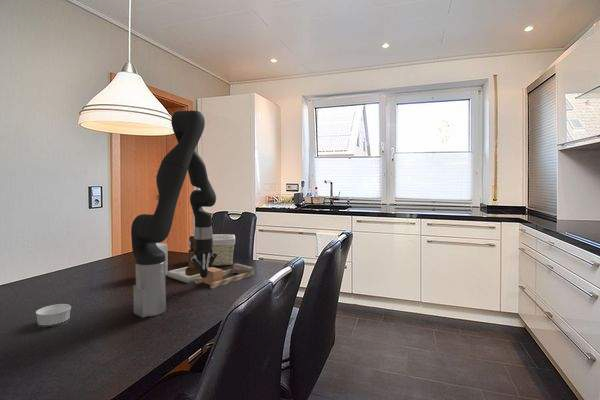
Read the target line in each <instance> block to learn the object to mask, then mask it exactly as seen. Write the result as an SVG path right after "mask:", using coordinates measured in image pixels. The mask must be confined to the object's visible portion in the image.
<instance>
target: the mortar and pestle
mask: <svg viewBox="0 0 600 400" xmlns="http://www.w3.org/2000/svg"><path fill="white" fill-rule="evenodd" d="M188 238H189V239H188V241H189V240H190V242H191V245H189V250H187V251H188V252H187V253H188V254H187V257H188V261H187V263H188V266H187V267H188V268H187V269H186V270H185V274H186V275H188V276H193V275H197V274H200V269H198V268H196V267H195V266H194V265H193V264H192V262H191V261H190V260H189V259H190V258H192V257H193V256H194V252H195V250H194V249H195V248H194V236H192V235H190V236H189V237H188ZM190 248H191V250H190Z"/></svg>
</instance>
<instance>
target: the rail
mask: <svg viewBox="0 0 600 400" xmlns="http://www.w3.org/2000/svg"><path fill="white" fill-rule="evenodd" d="M232 266H233V268H231V269H230V268H229V269H225V270H223V277H224V276H229V275H232V274H235V273H236V274H237V275H234V276H230V277H228V278H223V280H220V281H217V282H213V283H210V285H209V286H210V287H209V288H210V289H212V290H213V289H216V288H219V287H222V286H225V285H228V284H232V283H235V282H238V281H241V280H244V279H247V278H250V277H254V275H255V273H254V272H255V269H254V267H253V266H249V265H244V264H241V263H237V262H236V263H233V264H232ZM194 283H195V284H196V285H197V284H201V283H203V278H202V277H200V278H196V279H195V282H194Z"/></svg>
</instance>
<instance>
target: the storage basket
mask: <svg viewBox="0 0 600 400" xmlns="http://www.w3.org/2000/svg"><path fill="white" fill-rule="evenodd" d="M191 236H194V234H192V235H191ZM190 245H191V242H190V240H189V239H188V246H190ZM235 245H236V235H235V234H234V233H233V234H231V233H229V234H227V233H226V234H225V233H224V234H223V233H222V234H216V233H215V234H214V233H213V247H212V250H213V253H215V254H217V256H216V258H215V260H214V262H213V264H212V265H211V266H210V267H214V266H215V267H216V266H228V265H229V266H231V265H232V266H233V264H234V262H233V259H234V250H235ZM189 250H191V248H190V247H189ZM194 250H195V249H194ZM197 262H198V259H197Z"/></svg>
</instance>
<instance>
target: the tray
mask: <svg viewBox="0 0 600 400" xmlns="http://www.w3.org/2000/svg"><path fill="white" fill-rule="evenodd" d="M187 268H188V266H185V267H180V268H177V269H171V270H168V275H167V277H168V278H170V279H171V278H172V279H174V280H176V281H177V280H178V281H180V282H184V283H186V284H190V283H193V282H194V283H195V279H196V278H200V277H201V276H200V274H197V275H193V276H188V275H186V274H185V270H186V269H187ZM208 268H210V266H209V267H208Z"/></svg>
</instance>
